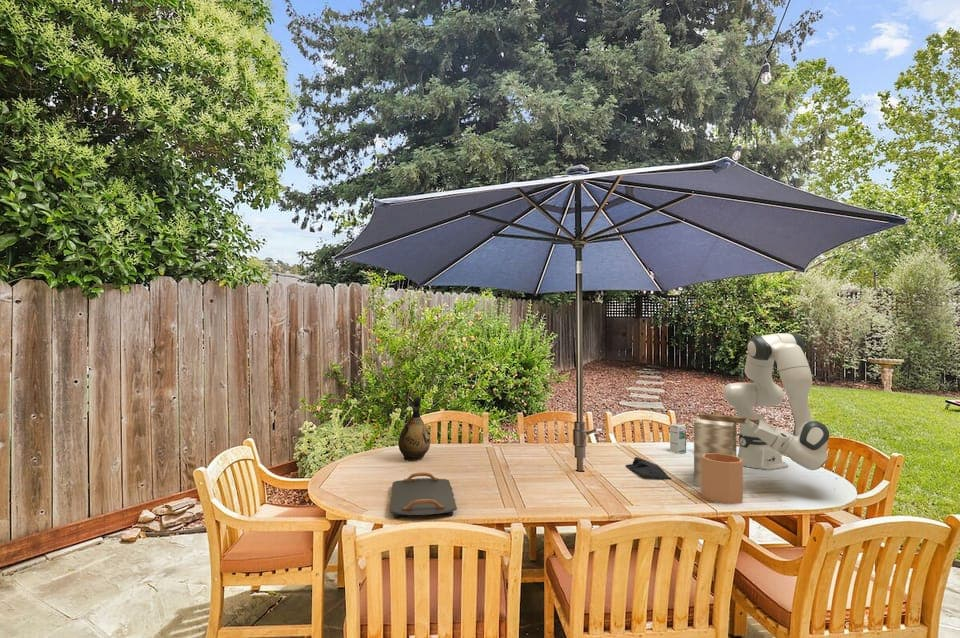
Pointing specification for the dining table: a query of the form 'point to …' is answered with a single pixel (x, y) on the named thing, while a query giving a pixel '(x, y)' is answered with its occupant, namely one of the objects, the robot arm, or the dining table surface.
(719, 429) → the zigzag patterned cylinder
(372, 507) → the dining table surface
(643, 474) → the black cloth
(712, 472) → the pot
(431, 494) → the serving board
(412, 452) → the ceramic jug
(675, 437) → the syrup box
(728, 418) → the slat
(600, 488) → the dining table surface
